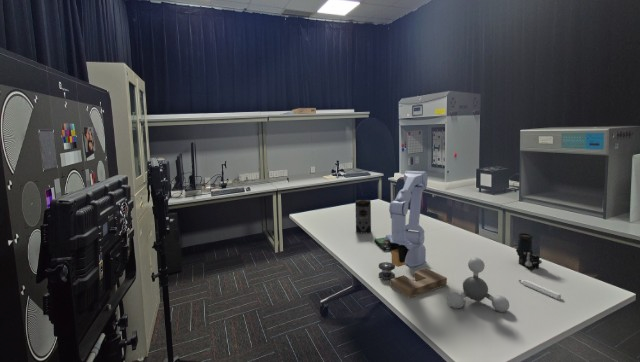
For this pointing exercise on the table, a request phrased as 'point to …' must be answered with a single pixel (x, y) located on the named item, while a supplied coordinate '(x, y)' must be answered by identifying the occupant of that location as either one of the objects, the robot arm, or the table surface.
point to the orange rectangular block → (396, 258)
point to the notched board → (418, 283)
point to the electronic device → (363, 216)
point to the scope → (527, 252)
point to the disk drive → (383, 243)
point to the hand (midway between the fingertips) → (398, 260)
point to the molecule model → (477, 289)
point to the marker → (541, 289)
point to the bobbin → (386, 271)
